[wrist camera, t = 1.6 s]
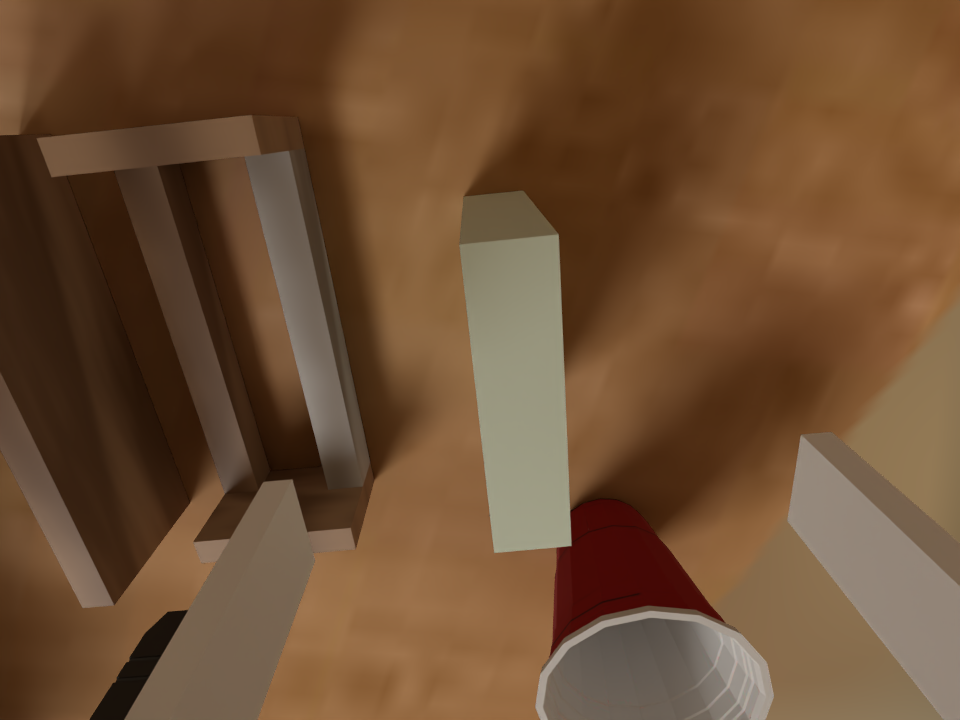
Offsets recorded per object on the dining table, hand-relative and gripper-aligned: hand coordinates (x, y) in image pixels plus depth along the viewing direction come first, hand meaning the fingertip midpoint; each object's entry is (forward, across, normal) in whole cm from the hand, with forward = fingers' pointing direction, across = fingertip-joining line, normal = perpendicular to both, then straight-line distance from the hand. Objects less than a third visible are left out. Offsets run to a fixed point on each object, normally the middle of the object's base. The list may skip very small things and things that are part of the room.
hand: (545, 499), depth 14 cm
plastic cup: (+17, +5, -16) cm, 24 cm away
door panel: (+17, 0, 0) cm, 17 cm away
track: (+17, -16, 0) cm, 23 cm away
